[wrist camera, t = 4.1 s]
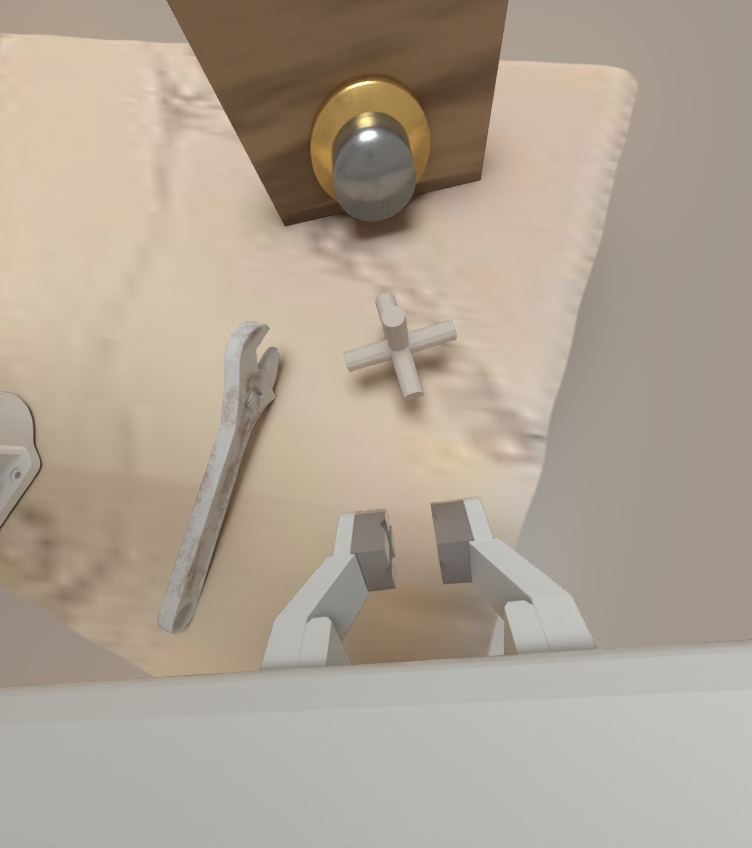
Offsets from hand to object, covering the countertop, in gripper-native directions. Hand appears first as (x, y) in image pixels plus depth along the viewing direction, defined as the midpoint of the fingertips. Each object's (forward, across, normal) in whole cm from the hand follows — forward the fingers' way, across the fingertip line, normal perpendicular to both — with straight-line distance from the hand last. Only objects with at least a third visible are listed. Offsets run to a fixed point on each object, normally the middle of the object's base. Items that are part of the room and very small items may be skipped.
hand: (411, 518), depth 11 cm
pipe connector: (+25, 0, +5) cm, 26 cm away
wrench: (+19, +19, +12) cm, 29 cm away
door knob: (+38, 0, -9) cm, 39 cm away
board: (+44, 0, -14) cm, 46 cm away
